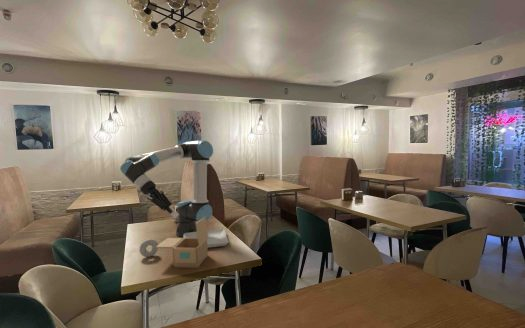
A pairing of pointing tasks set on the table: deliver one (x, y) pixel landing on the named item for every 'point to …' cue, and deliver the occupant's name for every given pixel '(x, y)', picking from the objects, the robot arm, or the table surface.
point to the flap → (202, 231)
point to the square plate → (212, 237)
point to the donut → (147, 243)
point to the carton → (186, 251)
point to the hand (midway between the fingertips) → (177, 216)
